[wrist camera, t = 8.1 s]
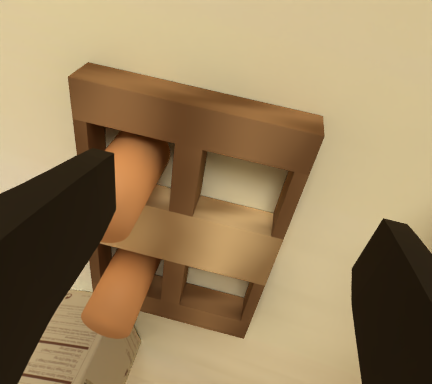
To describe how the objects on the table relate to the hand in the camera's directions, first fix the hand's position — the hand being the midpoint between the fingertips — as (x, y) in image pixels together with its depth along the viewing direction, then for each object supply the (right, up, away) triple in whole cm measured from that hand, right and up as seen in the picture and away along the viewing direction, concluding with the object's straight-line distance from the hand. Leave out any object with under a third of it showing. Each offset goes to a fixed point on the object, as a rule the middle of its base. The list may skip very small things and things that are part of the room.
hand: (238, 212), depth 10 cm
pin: (-6, -4, +17) cm, 18 cm away
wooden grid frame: (-3, -1, +14) cm, 14 cm away
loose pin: (-5, +3, +11) cm, 12 cm away
